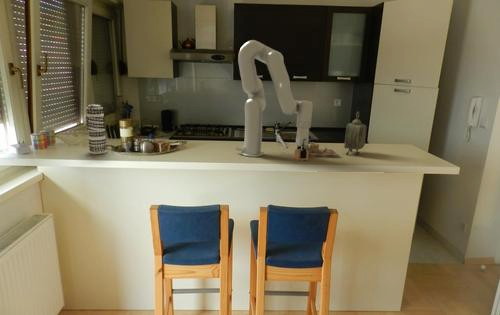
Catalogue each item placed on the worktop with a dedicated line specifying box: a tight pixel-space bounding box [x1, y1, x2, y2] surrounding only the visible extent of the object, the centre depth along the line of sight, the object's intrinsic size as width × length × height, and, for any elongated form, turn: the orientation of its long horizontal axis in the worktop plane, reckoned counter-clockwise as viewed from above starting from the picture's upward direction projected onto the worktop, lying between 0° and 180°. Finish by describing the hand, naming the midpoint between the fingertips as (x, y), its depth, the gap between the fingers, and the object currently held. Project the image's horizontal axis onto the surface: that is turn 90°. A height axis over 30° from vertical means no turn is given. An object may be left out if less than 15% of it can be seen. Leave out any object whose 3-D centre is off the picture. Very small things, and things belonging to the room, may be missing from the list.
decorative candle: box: [85, 104, 108, 155], centre depth 173 cm, size 9×9×25 cm
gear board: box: [307, 139, 340, 159], centre depth 188 cm, size 20×14×8 cm
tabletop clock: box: [343, 111, 368, 156], centre depth 190 cm, size 14×9×25 cm, turn 152°
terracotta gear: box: [293, 148, 309, 161], centre depth 177 cm, size 7×7×4 cm
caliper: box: [276, 132, 288, 149], centre depth 211 cm, size 20×1×6 cm, turn 11°
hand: (301, 155), depth 178 cm, fingers open, 9 cm apart
